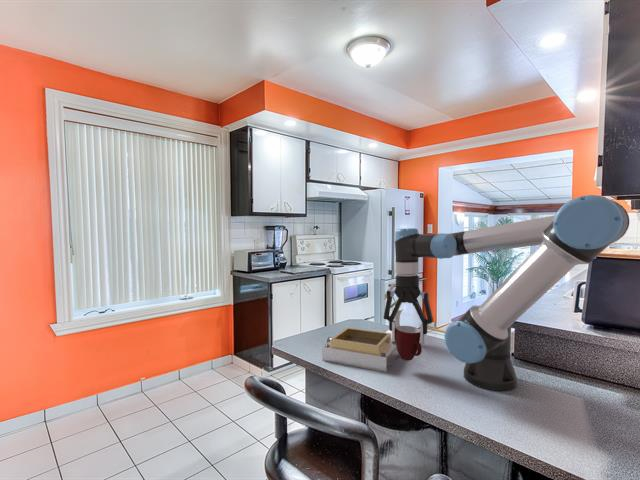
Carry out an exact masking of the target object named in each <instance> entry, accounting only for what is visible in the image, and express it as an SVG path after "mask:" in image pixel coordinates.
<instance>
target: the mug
mask: <svg viewBox="0 0 640 480" xmlns="http://www.w3.org/2000/svg"><path fill="white" fill-rule="evenodd" d="M396 345H397V351H398V354H399V355H398V356H399V358H400V359H402V360H403V361H408V362H409V361H412V360H413V359H414V358H415V357H419V356H420V355H421V354H422V350H423V349H422V345H421V343H420V328H418V327H415V326H411V325H400V326H398V327H396Z"/></svg>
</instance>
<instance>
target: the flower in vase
mask: <svg viewBox="0 0 640 480" xmlns="http://www.w3.org/2000/svg"><path fill="white" fill-rule="evenodd" d="M394 287H395V284H394V283H392V284H390V287H389V288H388V289H387V290H386V292H387V291H388V290H394ZM382 299H383V300H387V293H385V294H384V296H383V298H382ZM392 300H393V301H394V302H393V303H391V308H390V311H391V312H392V311H393V309H394V307H395V305H396V303H397V300H396V299H395V297H394V296H393V297H392ZM403 310H404V309H403V308H399V310H398V312H397V314H396V316H395V318H394V320H396V327H398V326H401V324H400V319H401V314H402V312H403ZM385 333H391V340H392V331H390V330H389V329H388V330H387V331H385Z"/></svg>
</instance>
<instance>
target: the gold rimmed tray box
mask: <svg viewBox="0 0 640 480" xmlns="http://www.w3.org/2000/svg"><path fill="white" fill-rule="evenodd" d="M398 356H399V354H398V351H397V345H396V341H395V342H393V341H392V340H391V333H386V332H381V331H375V330H368V329H359V328H353V327H345V329H343V330H342V331H340V332H339V333H337V334H336V335H334V336H333V337H330V336H328V337H327V338H326V344H324V345H322V346H321V359H322V361H324V362H329V363H335V364H340V365H346V366H351V367H355V368H362V369H365V370H370V371H372V370H373V371H377V372H383V373H387V372H388V371H389V369H390V368H391V367H392V365H393V364H394V362H395V361H396V359H397V358H398Z"/></svg>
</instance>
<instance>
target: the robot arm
mask: <svg viewBox="0 0 640 480" xmlns="http://www.w3.org/2000/svg"><path fill="white" fill-rule="evenodd" d="M629 228H630V216H629V214H628V211H627V210H626V209H625V207H624V206H623V205H621V204H620V203H618V202H616V201H615V200H612V199H609V198H607V197H605V196H601V195H593V194H589V195H582V196H578V197H575V198H573V199H571V200H568V201H567V202H565V203H564V204H563V205H562V206H561V207H560V208H558V210H557V212H556V214H554V215H549V216H544V217H539V218H532V219H526V220H520V221H515V222H511V223H505V224H504V223H503V224H499V225H492V226H486V227H482V228H476V229H471V230H470V229H469V230H465V231H464V230H463V231H458V232H451V233H440V232H439V233H425V234H424V233H423V234H421V233H419V230H418V228H415V227H413V228H412V227H410V228H397V229H396V230H395V233H394V234H395V235H394V236H395V237H394V252H395V267H394V268H395V270H394V271H395V274H396V275H395V289H392V290H388V289H387V290H388V291H387V290H386V293H387V298H386V303H385V307H384V313H383V319H384V320H386V321H388V326H389V327H388V330H390V331H392V341H393V342H395V341H396V320H394V318H395V316H396V314H397V312H398V310H399V308H400V307H401V305H402V304H403V303H408V304H412V305H413V308H414V309H415V311H416V314H417V315H418V317H419V319H420V321H421V323H420V325H419V327H420V328H419V330H420V341H419V343H420V344H421V346H423V345H424V344H425V335H427V334H428V325H429V324H430V325H431V324H432V323H433V321H434V318H433V317H434V316H433V313H432V310H431V309H432V308H431V305H430V301H429V298H430V293H429V292H428V291H426V292H425V291H421V290H420V277H419V275H418V274H419V272H420V268H419V266H420V265H419V258H431V259H432V258H433V259H440V260H442V259H451V258H453V257H454V256H462V255H470V254H478V253H485V252H492V251H500V250H501V251H502V250H510V249H518V248H526V247H536V246H537V247H536V248H535V249H534V250H533V251H532V252H531V253H530V254H529V255H528V257H526V258H525V259H524V260H523V262H521V263H520V264H519V266H517V268H516V269H515V270H514V271H512V272H511V274H510V275H509V276H508V277H507V278H506V279H505V280H504V281H503V282H502V283H501V284H500V285H499V286H498V287H497V288H496V289H495V290H494V291H493V292H492V293H491V294H490V295H489V296H488V297H487V299H486V300H485V301H484V302H483V303H482V304H481V305H472V306H470V308H469V309H468V310H467V311H466V312H465V313H463V314H462V316H461V317H460V318H459V319H458V320H456V321H453V322H451V323H450V324H449V325H448V326H447V327H446V328H445V332H444V341H445V342H444V343H445V346H446V348H447V350H448V351H449V354H451V355H452V356H453V357H454V358H455V359H456V360H458V361H460V362H461V363H465V365H464V366H463V367H464V368H463V378H464V380H465V381H467V382H468V383H469V384H471V385H473V386H476V387H479V388H481V389H485V390H491V391H497V392H498V391H499V392H500V391H501V392H503V391H504V392H505V391H511V390H514V389H516V388H517V385H518V377H517V374H516V371H515V368H514V365H513V363H512V358H511V357H512V353H511V352H512V325H513V324H514V323H515V322H516V321H517V320H519V318H520V317H522V316H523V315H524V314H525V313H526V312H527V311H528V310H529V309H530V308H531V307H532V306H533V305H535V304H536V302H538V301H540V299H541V298H542V297H543V296H544V295H545V294H547V293H548V292H549V291H550V290H551V289H552V288H553V287H554V286H555V285H556V284H557V283H558V282H559V281H561V279H562V278H564V277H565V276H566V275H567V274H568V273H569V272H570V271H571V270H572V269H574V268H575V267H576V266H578V265H589V264H590V263H591V262H593V261H594V259H596V258H597V257H598V256H599V255H600V254H601V253H602V252H604V251H605V250H606V249H607V248H608V247H609V246H610V245H611V244H613V243H616V242H618V241H619V240H620V239H621V238H623V237H624V236H625V235H626V233H627V231H628V230H629ZM386 293H385V294H386ZM394 296H396V297H397V298H398V299H396V301H397V303H396V305H394V306H393V308H394V309H393V311H392V310H391V305H392V304H393V303H392V302H393V301H392V300H393V297H394ZM420 296H421V299H422V301H423V304H424V309H425V314H426V315H425V314H424V311H423V309H422V306H421V305H420V302H419V300H418V298H419V297H420ZM390 311H391V312H390ZM390 313H391V314H390Z"/></svg>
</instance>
